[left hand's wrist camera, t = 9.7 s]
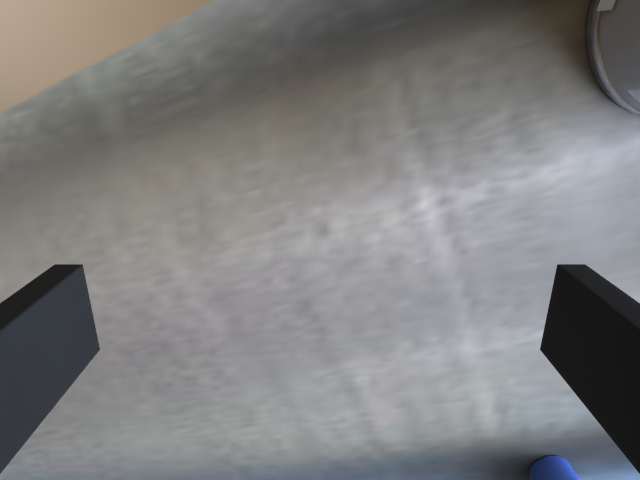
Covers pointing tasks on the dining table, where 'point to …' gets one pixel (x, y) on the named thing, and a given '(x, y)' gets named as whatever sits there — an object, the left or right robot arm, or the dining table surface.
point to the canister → (552, 469)
